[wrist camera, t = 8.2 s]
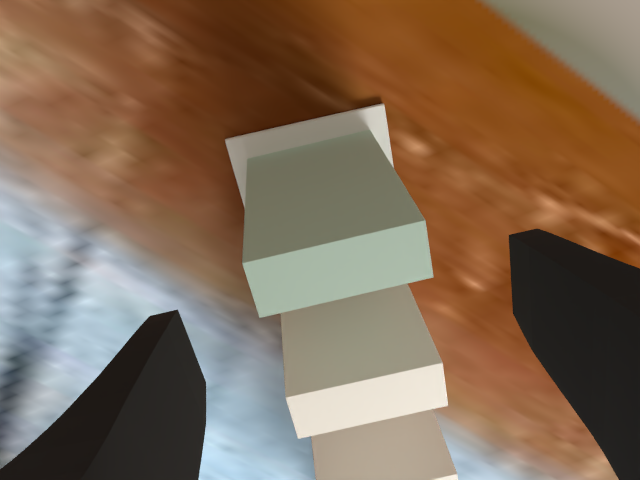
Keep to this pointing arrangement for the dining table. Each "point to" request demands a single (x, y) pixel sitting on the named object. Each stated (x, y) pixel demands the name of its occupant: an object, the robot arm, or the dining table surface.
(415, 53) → the dining table surface
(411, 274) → the domino
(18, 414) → the dining table surface
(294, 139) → the pad
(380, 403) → the domino
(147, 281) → the dining table surface
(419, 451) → the domino
